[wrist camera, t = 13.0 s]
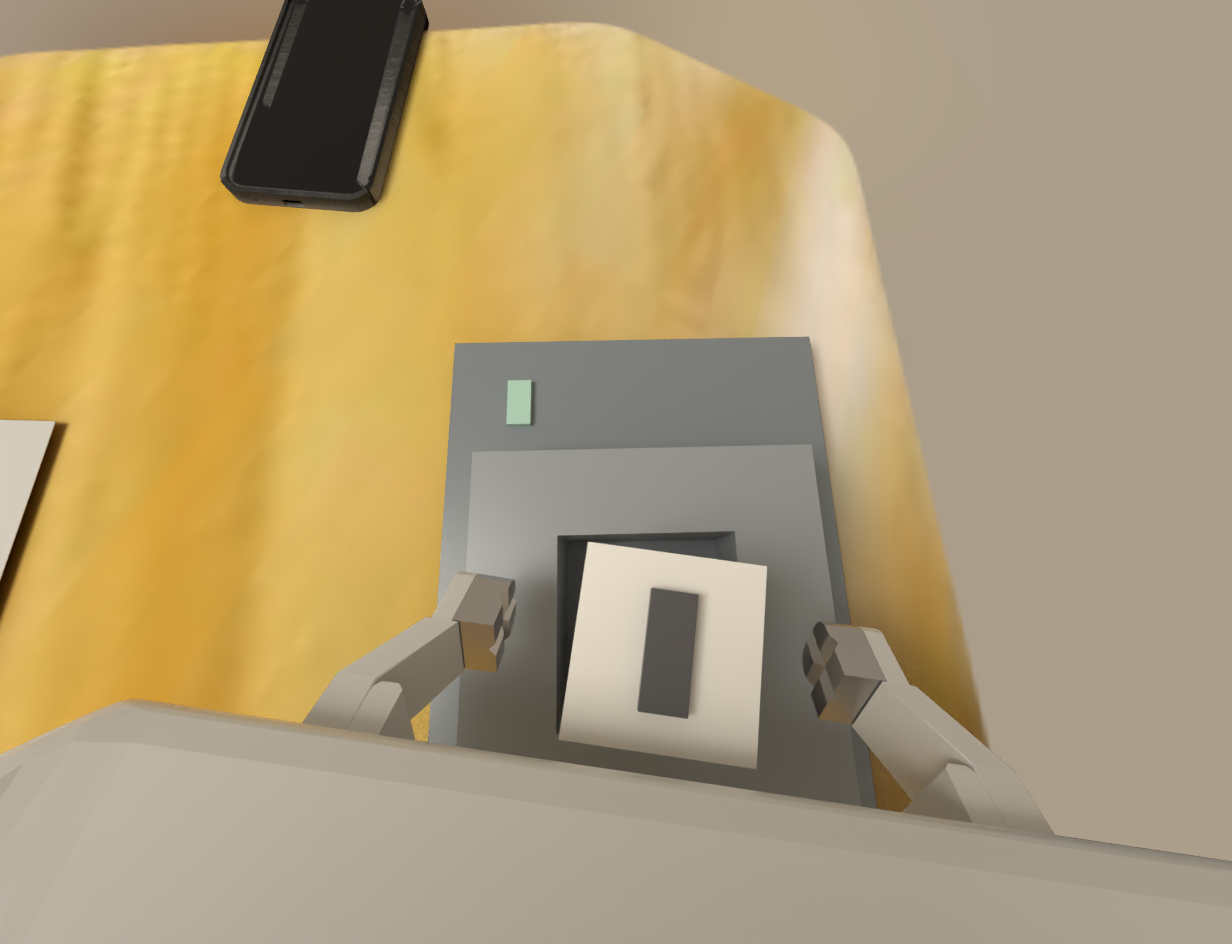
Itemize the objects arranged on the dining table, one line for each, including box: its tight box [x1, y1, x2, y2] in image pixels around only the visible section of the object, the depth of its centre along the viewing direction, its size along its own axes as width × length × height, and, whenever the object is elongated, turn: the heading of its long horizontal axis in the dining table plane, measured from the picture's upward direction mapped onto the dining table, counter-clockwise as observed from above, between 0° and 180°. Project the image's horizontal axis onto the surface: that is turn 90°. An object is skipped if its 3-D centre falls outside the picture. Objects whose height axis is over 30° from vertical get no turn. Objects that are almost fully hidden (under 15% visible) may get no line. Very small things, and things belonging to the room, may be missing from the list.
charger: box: [559, 542, 767, 769], centre depth 13 cm, size 4×4×8 cm
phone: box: [220, 0, 429, 212], centre depth 24 cm, size 8×1×15 cm
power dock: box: [428, 337, 877, 809], centre depth 16 cm, size 24×16×4 cm, turn 1°
